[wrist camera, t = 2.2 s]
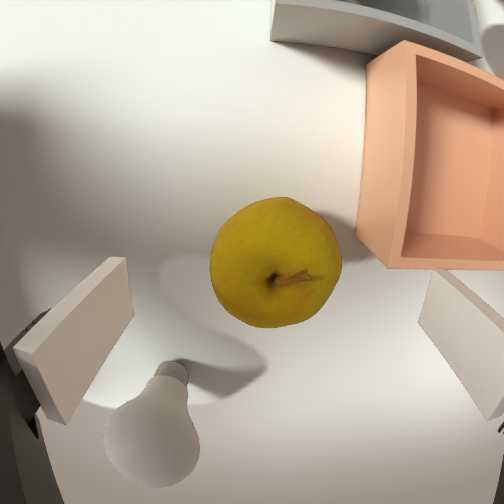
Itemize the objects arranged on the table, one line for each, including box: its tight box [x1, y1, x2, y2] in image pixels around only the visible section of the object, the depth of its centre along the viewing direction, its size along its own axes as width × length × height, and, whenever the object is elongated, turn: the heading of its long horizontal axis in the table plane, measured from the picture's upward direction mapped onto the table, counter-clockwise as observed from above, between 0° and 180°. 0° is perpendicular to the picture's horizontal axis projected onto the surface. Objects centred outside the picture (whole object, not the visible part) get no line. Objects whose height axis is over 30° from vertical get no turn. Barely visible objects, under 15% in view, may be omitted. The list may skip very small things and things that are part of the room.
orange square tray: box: [355, 40, 504, 270], centre depth 15 cm, size 11×11×6 cm
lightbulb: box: [104, 361, 200, 488], centre depth 18 cm, size 6×6×11 cm
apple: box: [210, 197, 342, 328], centre depth 15 cm, size 6×6×8 cm
